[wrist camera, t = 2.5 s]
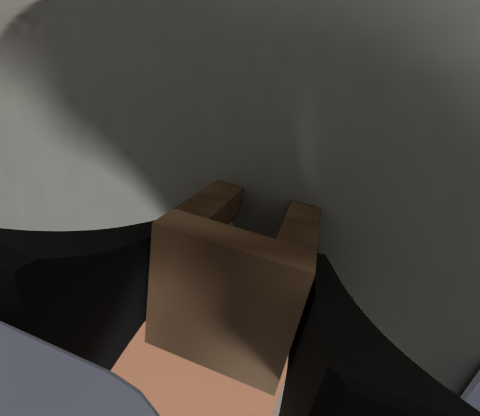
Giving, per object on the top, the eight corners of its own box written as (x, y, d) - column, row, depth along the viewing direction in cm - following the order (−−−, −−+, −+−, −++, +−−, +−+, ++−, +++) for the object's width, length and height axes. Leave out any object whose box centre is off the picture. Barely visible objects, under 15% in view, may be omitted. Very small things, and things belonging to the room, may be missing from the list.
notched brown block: (320, 207, 11) (315, 273, 7) (293, 296, 13) (274, 396, 8) (217, 180, 12) (151, 222, 8) (204, 266, 14) (144, 342, 9)
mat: (299, 330, 13) (298, 339, 13) (252, 469, 18) (249, 480, 17) (92, 255, 16) (83, 260, 15) (95, 394, 20) (89, 402, 20)
